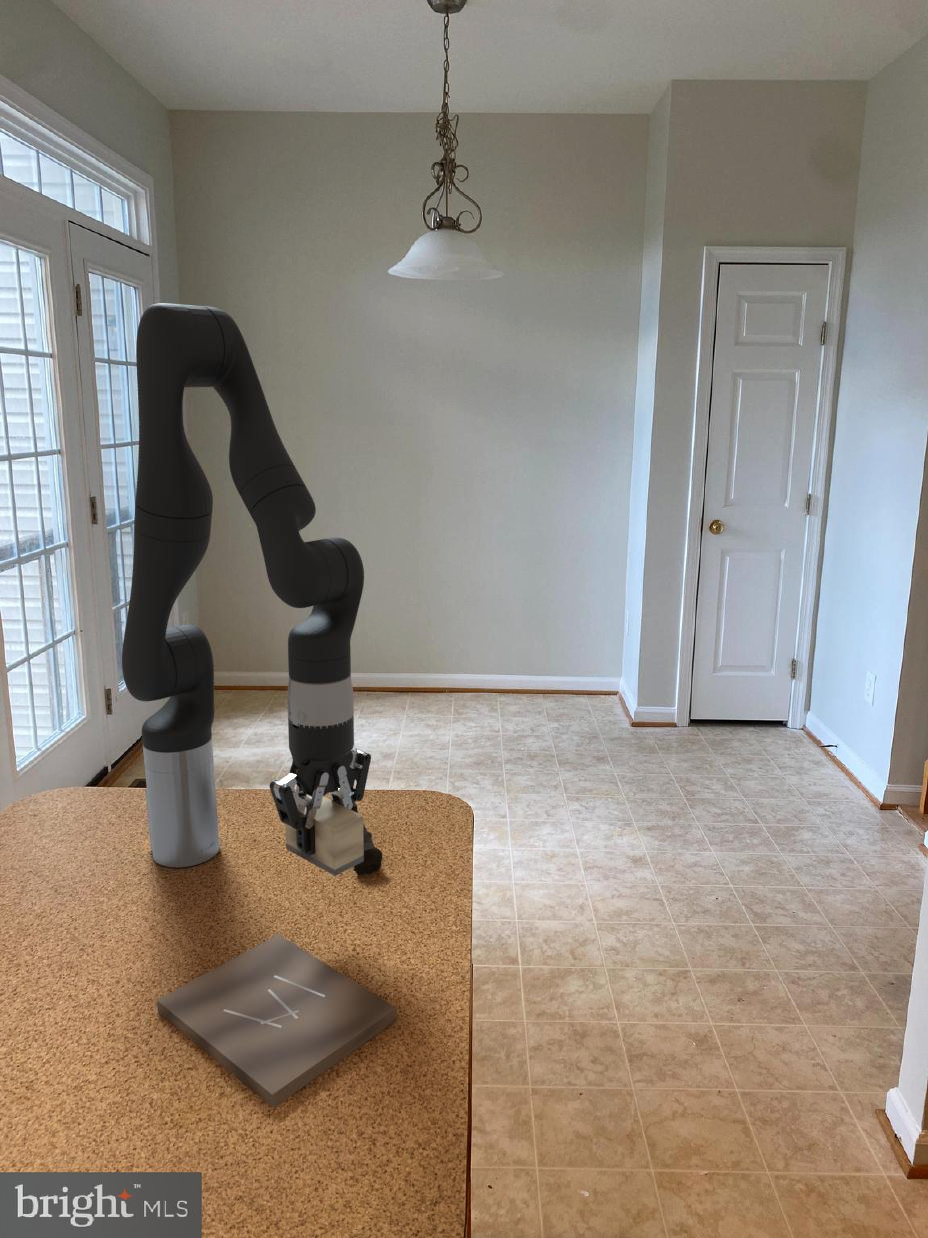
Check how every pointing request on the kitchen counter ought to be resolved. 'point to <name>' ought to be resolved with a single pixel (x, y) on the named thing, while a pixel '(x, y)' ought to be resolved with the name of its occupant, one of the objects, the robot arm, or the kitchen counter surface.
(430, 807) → the kitchen counter surface
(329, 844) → the block
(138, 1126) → the kitchen counter surface
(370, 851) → the hand tool
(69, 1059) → the kitchen counter surface
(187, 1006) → the walnut board
